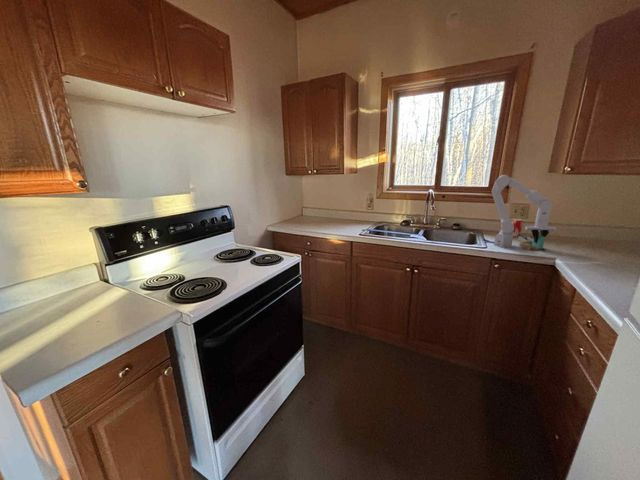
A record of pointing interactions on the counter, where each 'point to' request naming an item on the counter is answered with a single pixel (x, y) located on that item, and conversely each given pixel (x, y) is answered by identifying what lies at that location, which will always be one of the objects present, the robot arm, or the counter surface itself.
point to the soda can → (517, 227)
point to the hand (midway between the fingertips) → (537, 242)
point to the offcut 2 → (526, 246)
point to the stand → (526, 239)
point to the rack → (535, 248)
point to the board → (539, 242)
